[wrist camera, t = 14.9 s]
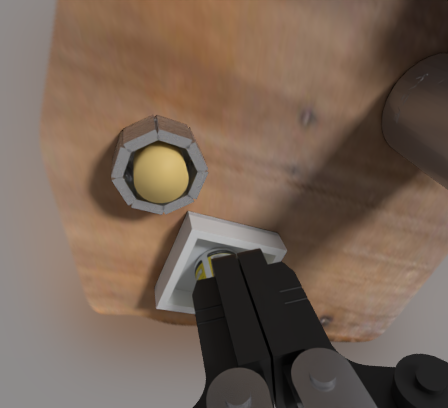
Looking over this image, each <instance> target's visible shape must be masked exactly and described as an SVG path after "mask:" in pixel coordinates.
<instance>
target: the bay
mask: <svg viewBox="0 0 448 408" xmlns="http://www.w3.org/2000/svg"><path fill="white" fill-rule="evenodd" d="M215 248H227V249H230V250H232V251H234V252H236V253H239V252H244V251H248V250H253V249H258V248H260V249H261V250H262V252H263V255H264V257H265V259H266V261H267V264H272V263H276V262H280V261H282V259H283V257H284V256H285V254H286V252H287V249H286V247H285V245H284V243H283V242H282V240H281V238H280V236H279V234H278V233H276V232H272V231H268V230H263V229H259V228H255V227H251V226H247V225H243V224H239V223H235V222H231V221H227V220H223V219H219V218H215V217H211V216H207V215H202V214H198V213H194V212H190V211H188V212H187V214H186V217H185V219H184V221H183V224H182V226H181V228H180V230H179V233H178V235H177V237H176V240H175V242H174V244H173V246H172V249H171V251H170V253H169V256H168V258H167V260H166V262H165V265H164V267H163V269H162V272H161V274H160V276H159V279H158V281H157V283H156V285H155V288H154V289H155V301H156V309H162V310H169V311H176V312H183V313H190V314H195V310H194V304H193V298H192V294H193V290H194V287H195V284H196V278H195V273H194V267H195V264H196V262H197V260H198V259H199V258H200V257H201V256H202V255H203V254H204V253H205V252H207V251H209V250H212V249H215Z"/></svg>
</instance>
